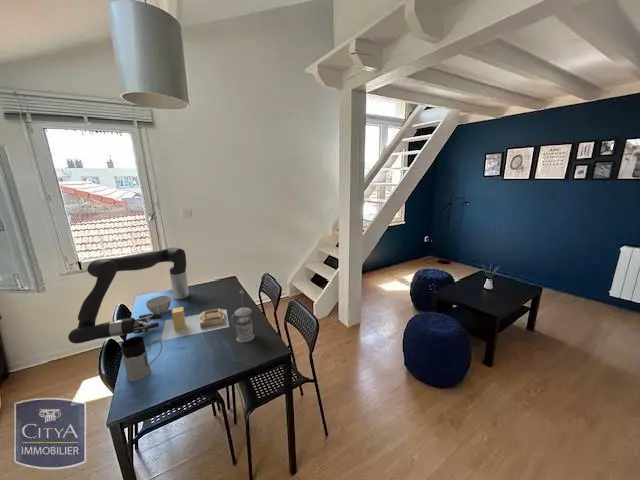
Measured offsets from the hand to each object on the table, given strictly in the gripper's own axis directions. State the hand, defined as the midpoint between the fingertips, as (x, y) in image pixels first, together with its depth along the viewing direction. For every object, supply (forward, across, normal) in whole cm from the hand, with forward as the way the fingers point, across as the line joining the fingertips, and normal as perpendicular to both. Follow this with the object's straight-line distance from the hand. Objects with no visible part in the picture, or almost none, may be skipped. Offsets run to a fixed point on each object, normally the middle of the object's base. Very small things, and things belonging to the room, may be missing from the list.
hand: (160, 320), depth 141 cm
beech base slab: (+24, 0, +6) cm, 25 cm away
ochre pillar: (+8, 0, +6) cm, 10 cm away
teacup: (-4, +22, +7) cm, 23 cm away
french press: (+39, -20, +7) cm, 44 cm away
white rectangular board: (+16, 0, +7) cm, 18 cm away
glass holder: (-2, -30, +7) cm, 31 cm away
